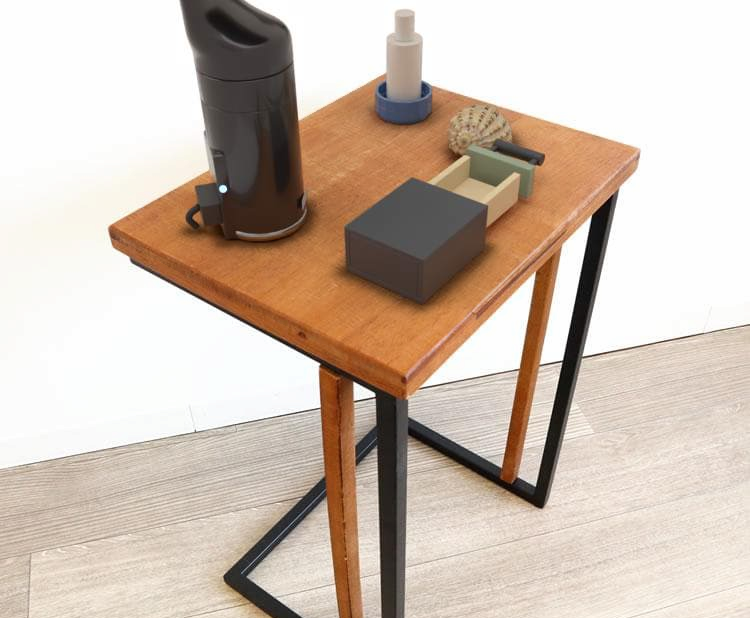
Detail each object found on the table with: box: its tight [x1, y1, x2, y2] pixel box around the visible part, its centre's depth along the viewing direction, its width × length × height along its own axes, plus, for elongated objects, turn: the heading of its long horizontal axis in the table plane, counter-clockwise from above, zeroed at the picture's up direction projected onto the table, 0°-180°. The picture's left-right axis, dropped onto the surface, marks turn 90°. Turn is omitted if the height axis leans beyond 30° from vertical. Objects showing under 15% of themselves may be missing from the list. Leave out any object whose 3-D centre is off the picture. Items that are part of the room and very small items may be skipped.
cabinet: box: [343, 176, 488, 305], centre depth 83 cm, size 11×9×5 cm
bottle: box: [385, 8, 424, 102], centre depth 103 cm, size 4×4×12 cm
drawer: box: [427, 138, 546, 229], centre depth 91 cm, size 14×8×4 cm, turn 143°
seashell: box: [446, 103, 513, 157], centre depth 100 cm, size 8×6×10 cm
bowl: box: [374, 79, 434, 125], centre depth 107 cm, size 7×7×3 cm
